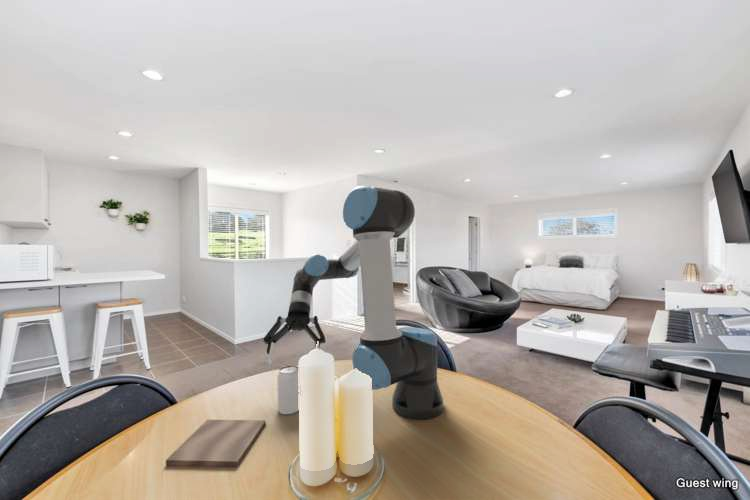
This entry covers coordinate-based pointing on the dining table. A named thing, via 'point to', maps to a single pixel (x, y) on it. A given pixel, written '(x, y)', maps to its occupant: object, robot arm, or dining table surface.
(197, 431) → the walnut board
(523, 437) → the dining table surface
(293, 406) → the can
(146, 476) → the dining table surface
